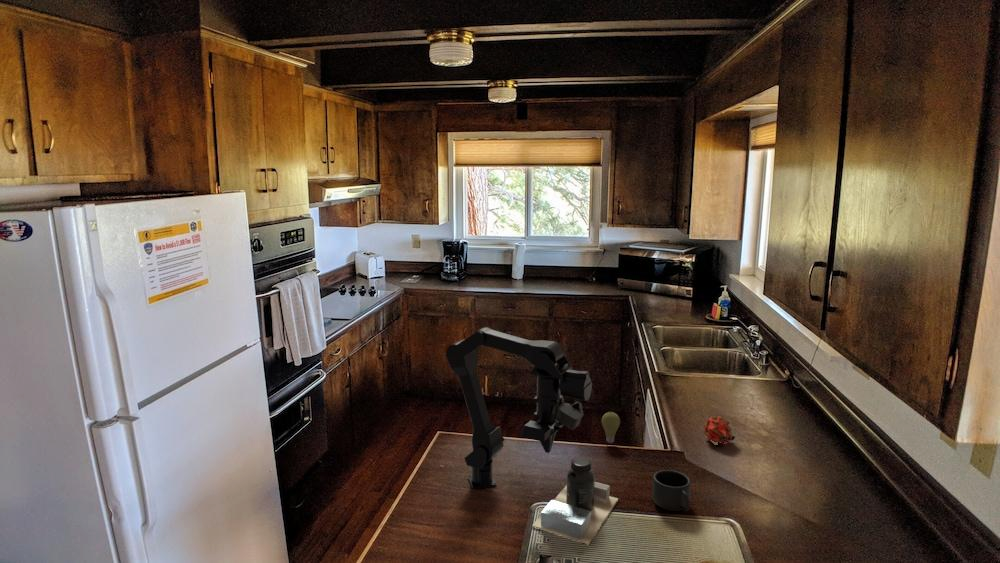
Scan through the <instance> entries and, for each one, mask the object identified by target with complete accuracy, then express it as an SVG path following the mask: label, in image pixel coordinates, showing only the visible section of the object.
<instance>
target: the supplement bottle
mask: <svg viewBox="0 0 1000 563" xmlns="http://www.w3.org/2000/svg"><path fill="white" fill-rule="evenodd" d="M595 480H596V476H595V472H594V471H593V470H592V461H591V459H589V458H587V457H584V456H576V457H573V458H572V459H571V461H570V469H568V470H567V472H566V485H567V491H566V504H568V505H571V506H575V507H578V508H582V509H585V510H588V511H591V510H592V509H593V507H594V489H595V482H596V481H595Z"/></svg>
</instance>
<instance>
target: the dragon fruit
mask: <svg viewBox="0 0 1000 563" xmlns="http://www.w3.org/2000/svg"><path fill="white" fill-rule="evenodd" d="M703 430H704V431H703V435H704V434H705V435H706V436H707V437H708V438H709V439H710V440H712V441H714V442H721V443H722V444H725V445H726V444H728V441H731V442H732V441H734V440H735V438H736V436H735V435H733V433H732V431H733V429H732V427H731V426H730V421H729V420H726V419H724V418H723V417H722V416H719V415H718V416H712V417H709V418H708V419H707V420H706V421H705V422H704V425H703ZM709 439H708V440H709ZM710 440H709V441H710ZM726 440H727V441H726ZM722 444H721V445H722Z"/></svg>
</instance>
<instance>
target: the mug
mask: <svg viewBox="0 0 1000 563" xmlns="http://www.w3.org/2000/svg"><path fill="white" fill-rule="evenodd" d="M691 483H692V482H691V479H690V477H689V476H688V475H686V474H684V473H682V472H680V471H677V470H672V469H664V470H663V469H662V470H658V471H656V472H655V473H654V474H653V475H652V490H651V492H652V499H653V501H654V503H655V504H656V505H657V506H658V507H660V508H662V509H663V510H667V511H672V512H677V511H679V512H680V511H684V512H689V511H690V508H691V507H690V506H691V505H690V501H691V500H690V499H691V487H692V485H691Z"/></svg>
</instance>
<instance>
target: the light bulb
mask: <svg viewBox="0 0 1000 563" xmlns="http://www.w3.org/2000/svg"><path fill="white" fill-rule="evenodd" d="M620 424H621V418H620V417H619V415H618V414H617V413H615V412H613V411H608V412H607V411H606V413H604V414H603V416H602V417H601V425H602V428H603V429H604V433H605V436H606V438H605V439H606V440H605V441H606V442H607V443H608V444H612V443H614V442H615V436H616V433H617V431H618V429H619V427H620Z"/></svg>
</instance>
